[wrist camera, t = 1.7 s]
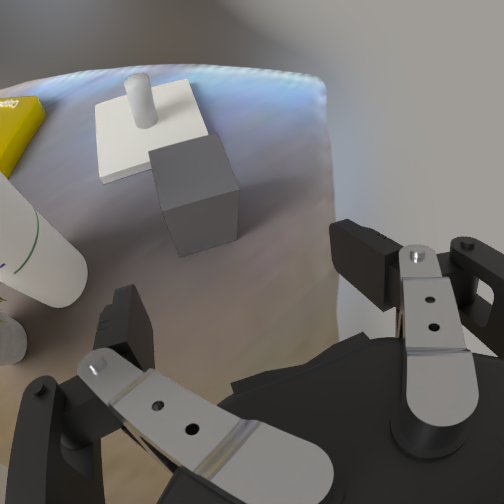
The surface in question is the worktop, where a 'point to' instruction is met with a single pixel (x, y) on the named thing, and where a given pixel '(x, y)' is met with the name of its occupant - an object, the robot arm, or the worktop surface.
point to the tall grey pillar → (196, 193)
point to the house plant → (11, 340)
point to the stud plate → (139, 142)
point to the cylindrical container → (37, 253)
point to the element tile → (17, 128)
